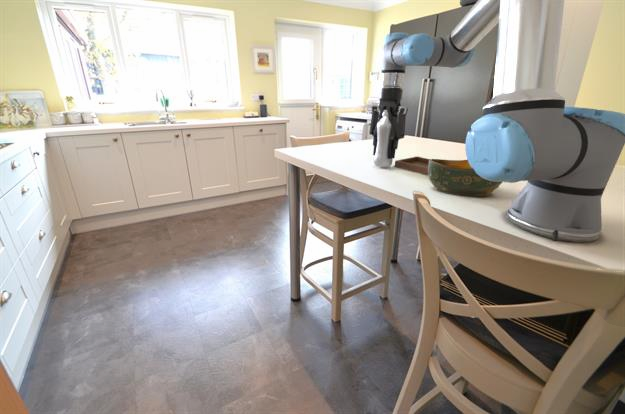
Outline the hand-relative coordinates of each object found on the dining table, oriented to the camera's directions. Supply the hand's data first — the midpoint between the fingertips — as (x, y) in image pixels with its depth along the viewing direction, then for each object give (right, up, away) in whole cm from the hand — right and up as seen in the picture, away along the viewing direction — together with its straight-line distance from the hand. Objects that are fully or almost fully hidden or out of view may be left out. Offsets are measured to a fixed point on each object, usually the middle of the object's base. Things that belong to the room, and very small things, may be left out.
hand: (383, 156), depth 103 cm
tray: (+16, -5, -2) cm, 17 cm away
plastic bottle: (0, -4, +2) cm, 4 cm away
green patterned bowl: (+17, -14, -24) cm, 32 cm away
